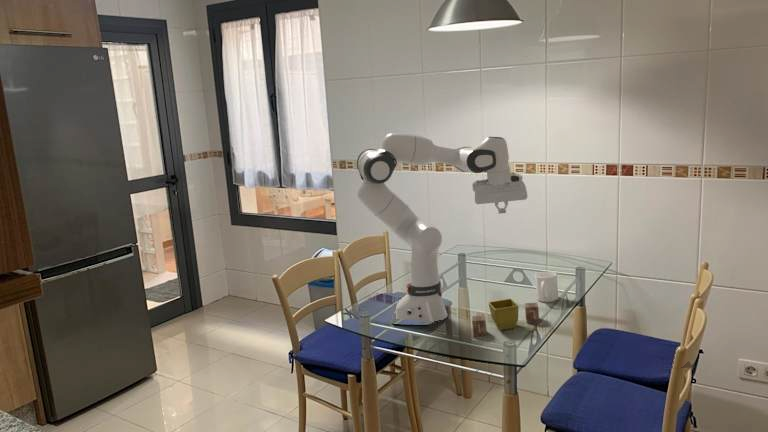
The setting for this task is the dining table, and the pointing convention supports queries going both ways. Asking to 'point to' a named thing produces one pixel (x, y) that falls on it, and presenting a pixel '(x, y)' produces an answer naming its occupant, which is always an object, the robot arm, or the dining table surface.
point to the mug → (546, 286)
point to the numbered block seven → (532, 312)
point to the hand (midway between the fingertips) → (502, 213)
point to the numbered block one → (479, 326)
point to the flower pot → (504, 313)
